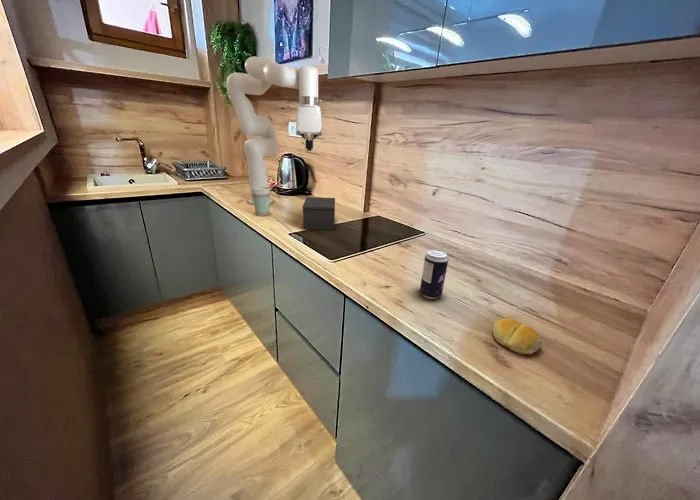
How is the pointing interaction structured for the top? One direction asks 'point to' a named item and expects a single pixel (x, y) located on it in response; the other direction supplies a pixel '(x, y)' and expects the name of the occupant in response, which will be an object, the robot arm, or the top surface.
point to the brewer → (318, 219)
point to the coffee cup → (261, 200)
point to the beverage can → (434, 274)
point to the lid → (319, 203)
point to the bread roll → (516, 336)
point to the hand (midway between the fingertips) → (309, 150)
